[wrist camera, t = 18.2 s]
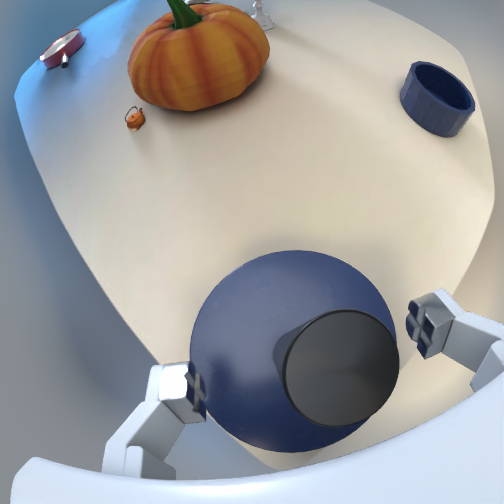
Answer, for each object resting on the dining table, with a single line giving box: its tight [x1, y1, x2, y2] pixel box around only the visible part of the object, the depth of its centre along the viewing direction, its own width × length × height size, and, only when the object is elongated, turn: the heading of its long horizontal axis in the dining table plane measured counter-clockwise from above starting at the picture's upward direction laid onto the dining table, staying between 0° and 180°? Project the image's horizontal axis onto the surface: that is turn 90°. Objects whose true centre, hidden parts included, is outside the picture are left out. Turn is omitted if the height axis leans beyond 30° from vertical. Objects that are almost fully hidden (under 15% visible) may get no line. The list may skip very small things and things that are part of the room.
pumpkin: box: [128, 0, 270, 111], centre depth 27 cm, size 19×19×15 cm
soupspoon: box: [185, 0, 248, 15], centre depth 41 cm, size 22×3×7 cm
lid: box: [190, 250, 399, 453], centre depth 10 cm, size 11×11×10 cm
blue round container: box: [400, 61, 475, 137], centre depth 27 cm, size 10×10×6 cm
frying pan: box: [41, 29, 85, 69], centre depth 41 cm, size 32×13×6 cm, turn 42°
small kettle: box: [125, 106, 145, 131], centre depth 32 cm, size 3×3×3 cm
